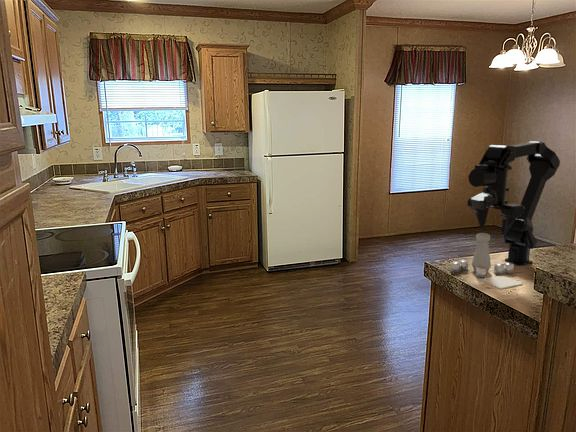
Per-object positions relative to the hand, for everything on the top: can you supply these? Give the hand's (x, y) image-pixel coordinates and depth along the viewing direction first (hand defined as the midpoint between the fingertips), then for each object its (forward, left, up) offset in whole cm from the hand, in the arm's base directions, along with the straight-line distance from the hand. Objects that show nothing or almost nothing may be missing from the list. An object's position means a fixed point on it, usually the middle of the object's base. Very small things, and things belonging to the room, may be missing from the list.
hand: (492, 231), depth 149 cm
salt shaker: (+4, 0, -14) cm, 14 cm away
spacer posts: (+4, 0, -13) cm, 14 cm away
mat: (+6, +10, -13) cm, 18 cm away
